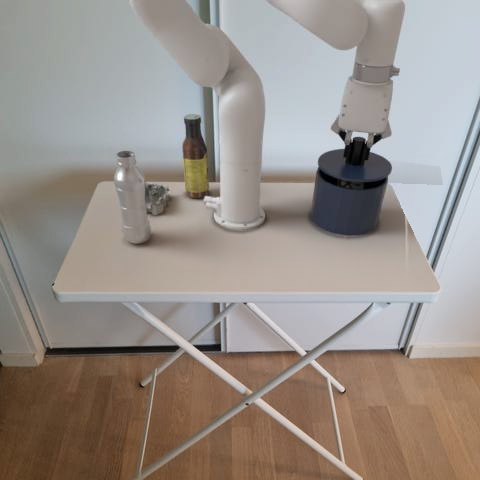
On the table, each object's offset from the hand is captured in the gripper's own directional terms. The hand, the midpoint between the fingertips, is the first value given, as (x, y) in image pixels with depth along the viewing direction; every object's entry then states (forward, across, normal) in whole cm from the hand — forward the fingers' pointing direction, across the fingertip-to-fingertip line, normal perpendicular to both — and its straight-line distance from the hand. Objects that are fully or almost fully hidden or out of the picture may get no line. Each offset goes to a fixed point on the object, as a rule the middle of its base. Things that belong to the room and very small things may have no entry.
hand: (355, 161), depth 104 cm
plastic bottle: (+15, +45, +22) cm, 53 cm away
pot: (+15, 0, 0) cm, 15 cm away
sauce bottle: (+15, +39, -2) cm, 42 cm away
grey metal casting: (+15, +48, +6) cm, 51 cm away
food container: (+15, 0, 0) cm, 15 cm away
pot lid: (+1, 0, 0) cm, 1 cm away
